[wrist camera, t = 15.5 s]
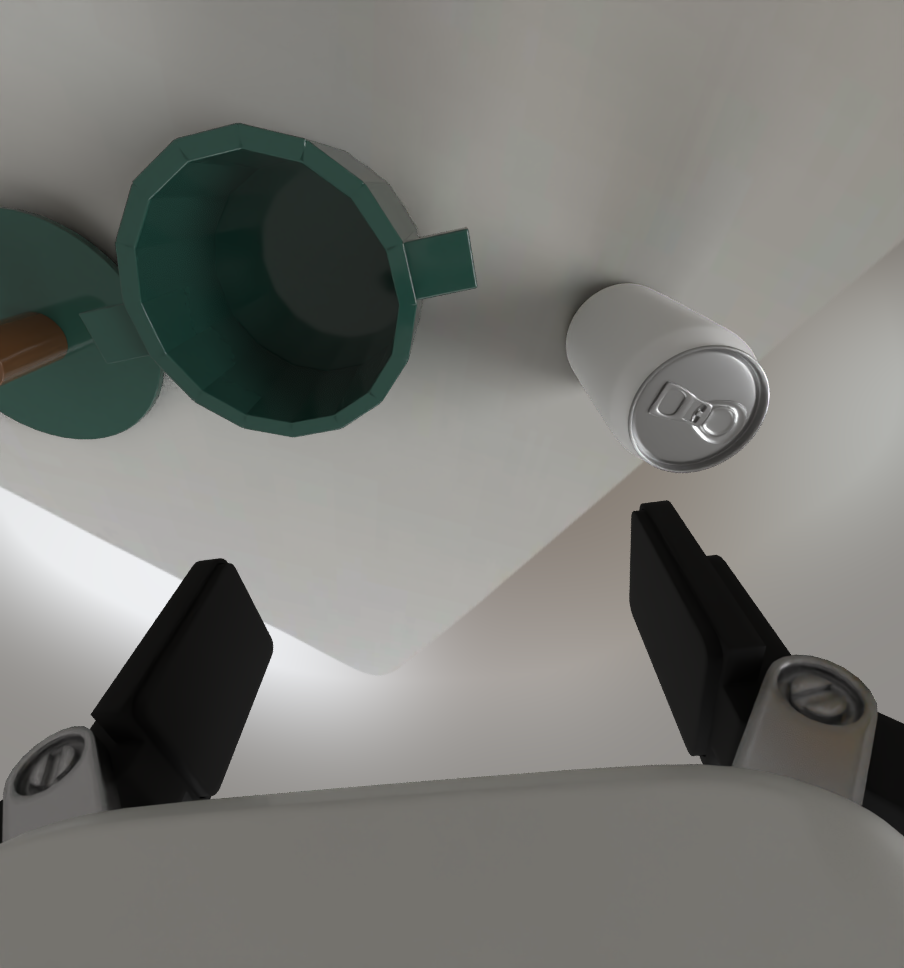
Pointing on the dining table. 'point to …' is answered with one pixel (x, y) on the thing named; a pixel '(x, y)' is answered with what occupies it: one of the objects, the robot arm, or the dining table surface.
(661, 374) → the can
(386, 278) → the pot
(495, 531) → the dining table surface
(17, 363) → the pot lid
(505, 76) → the dining table surface
